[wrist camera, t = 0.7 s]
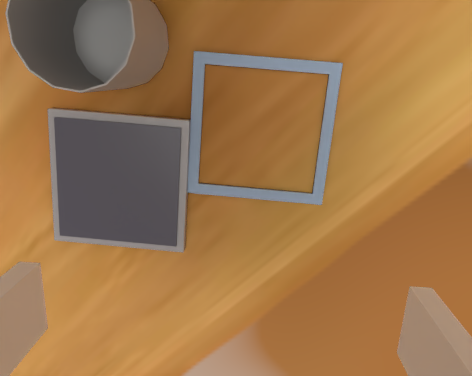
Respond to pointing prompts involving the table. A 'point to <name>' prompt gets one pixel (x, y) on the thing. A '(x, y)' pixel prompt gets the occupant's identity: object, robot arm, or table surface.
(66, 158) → the pad
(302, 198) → the marked square
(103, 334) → the table surface
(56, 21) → the cup
